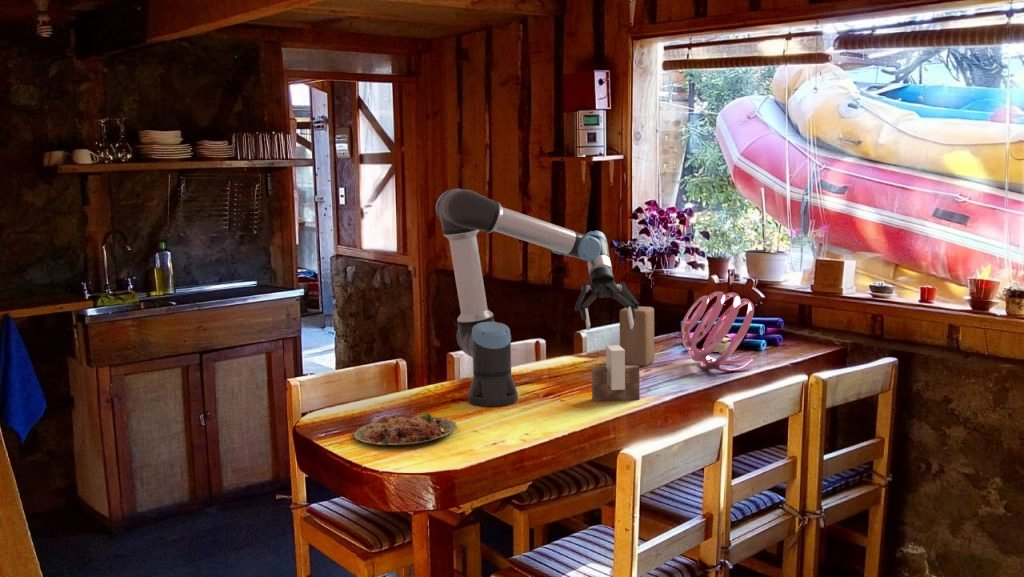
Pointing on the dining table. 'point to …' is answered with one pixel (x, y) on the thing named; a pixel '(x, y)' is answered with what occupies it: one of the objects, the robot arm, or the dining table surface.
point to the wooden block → (638, 336)
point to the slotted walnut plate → (606, 394)
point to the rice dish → (405, 429)
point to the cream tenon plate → (615, 366)
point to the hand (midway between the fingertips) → (610, 327)
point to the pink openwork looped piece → (715, 330)
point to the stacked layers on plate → (722, 345)
